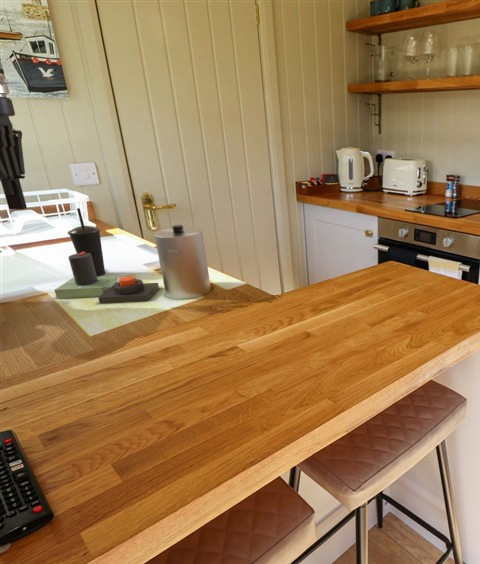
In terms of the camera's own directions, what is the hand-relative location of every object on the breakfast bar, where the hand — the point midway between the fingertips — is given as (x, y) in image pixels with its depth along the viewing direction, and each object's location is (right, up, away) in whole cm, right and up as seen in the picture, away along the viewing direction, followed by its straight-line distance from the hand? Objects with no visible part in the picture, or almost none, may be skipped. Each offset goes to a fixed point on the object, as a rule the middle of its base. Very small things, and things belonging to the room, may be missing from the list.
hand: (18, 208), depth 96 cm
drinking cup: (-5, -15, +31) cm, 35 cm away
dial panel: (+3, -19, +18) cm, 27 cm away
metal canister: (+29, -20, +19) cm, 40 cm away
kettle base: (+16, -21, +16) cm, 30 cm away
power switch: (+16, -17, +14) cm, 27 cm away
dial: (+3, -17, +17) cm, 24 cm away
